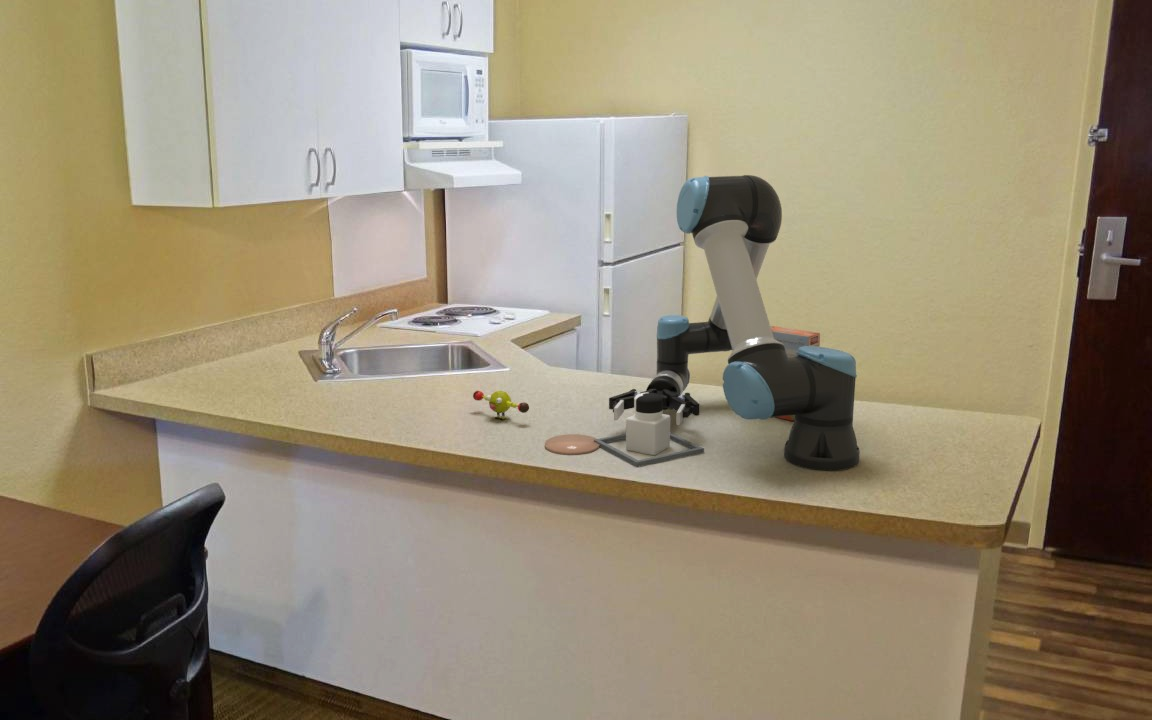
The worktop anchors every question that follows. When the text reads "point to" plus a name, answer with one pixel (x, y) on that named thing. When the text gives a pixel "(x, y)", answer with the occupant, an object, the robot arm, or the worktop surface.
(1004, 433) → the worktop surface
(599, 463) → the worktop surface
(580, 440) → the coaster
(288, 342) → the worktop surface
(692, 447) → the gray square frame
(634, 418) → the medicine bottle
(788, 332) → the cracker box
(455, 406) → the worktop surface
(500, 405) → the toy figure
